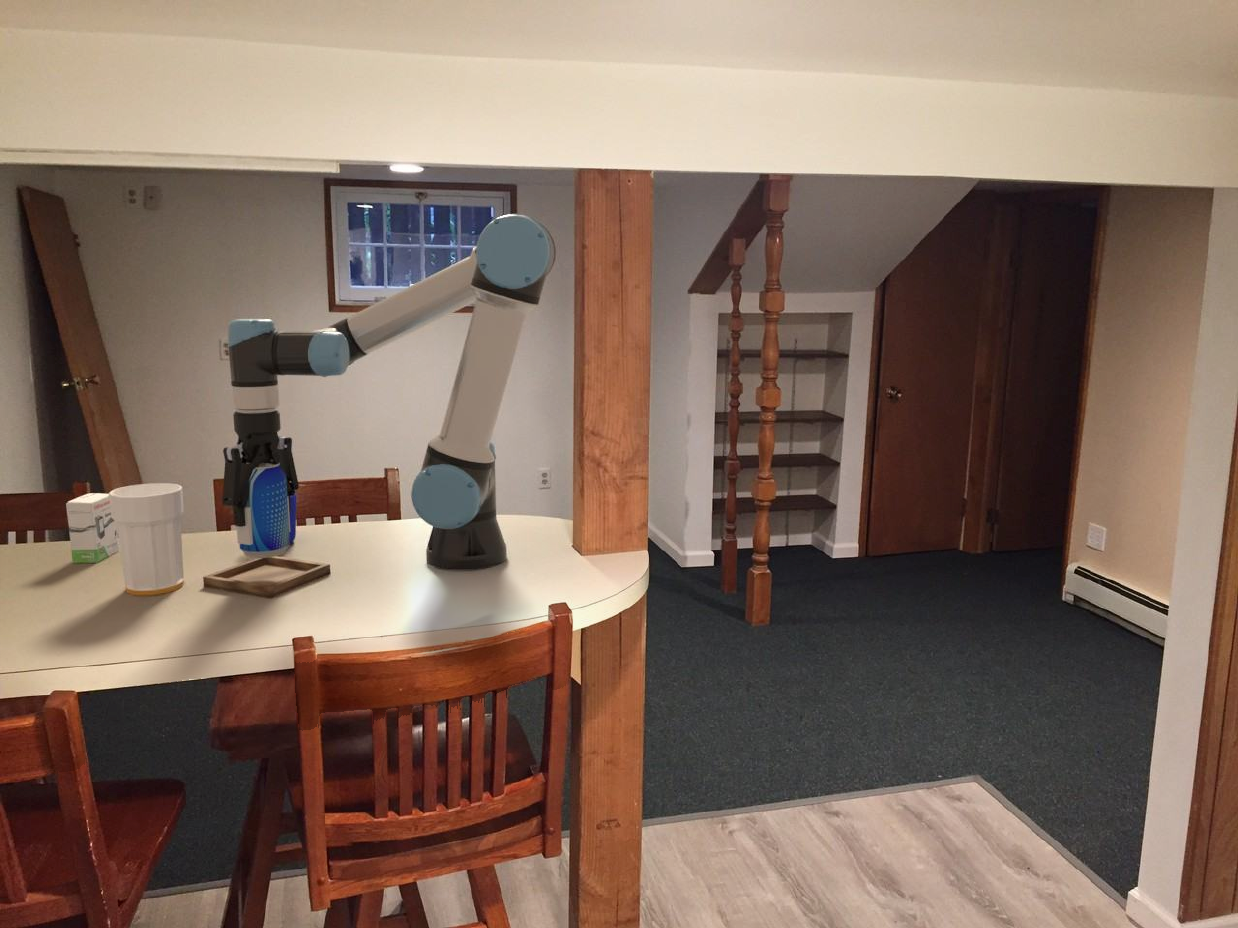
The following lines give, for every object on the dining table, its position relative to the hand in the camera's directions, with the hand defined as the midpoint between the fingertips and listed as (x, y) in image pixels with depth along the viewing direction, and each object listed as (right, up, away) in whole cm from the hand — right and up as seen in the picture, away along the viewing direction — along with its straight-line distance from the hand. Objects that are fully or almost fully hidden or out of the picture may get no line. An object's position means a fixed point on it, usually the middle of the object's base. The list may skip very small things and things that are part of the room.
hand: (264, 537), depth 172 cm
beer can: (0, -3, +1) cm, 3 cm away
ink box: (-38, -5, +16) cm, 42 cm away
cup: (-18, -9, -2) cm, 20 cm away
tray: (0, -8, +2) cm, 8 cm away
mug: (-6, -3, +28) cm, 29 cm away
